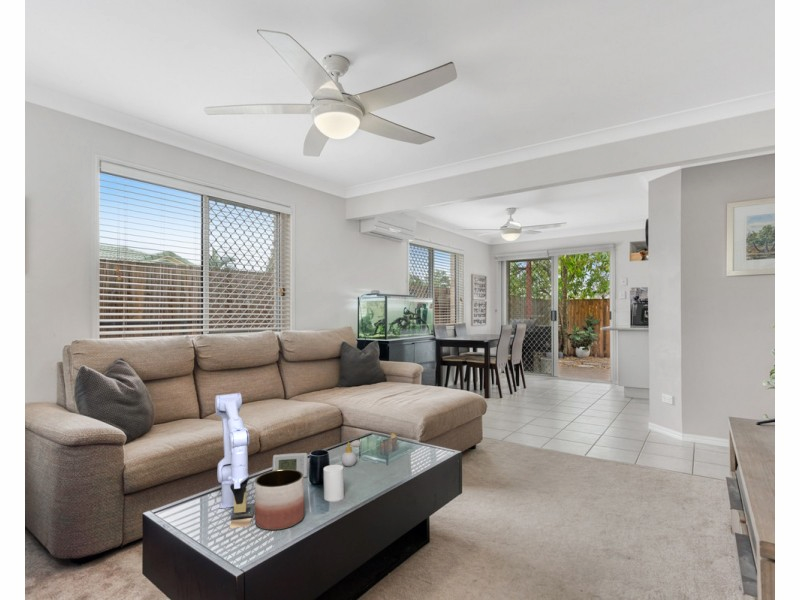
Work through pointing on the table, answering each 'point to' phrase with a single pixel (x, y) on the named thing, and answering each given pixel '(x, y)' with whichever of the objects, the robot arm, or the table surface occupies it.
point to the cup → (333, 483)
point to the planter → (279, 499)
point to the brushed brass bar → (243, 506)
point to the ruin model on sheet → (389, 445)
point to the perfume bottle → (350, 454)
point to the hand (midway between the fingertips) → (240, 501)
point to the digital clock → (291, 462)
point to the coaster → (240, 523)
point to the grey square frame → (244, 516)
